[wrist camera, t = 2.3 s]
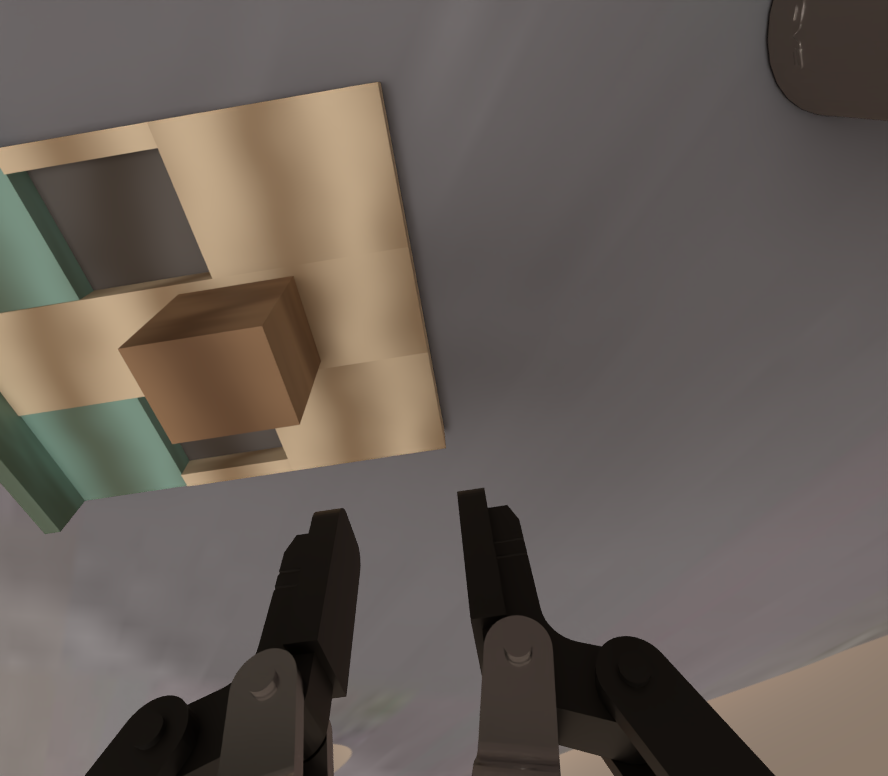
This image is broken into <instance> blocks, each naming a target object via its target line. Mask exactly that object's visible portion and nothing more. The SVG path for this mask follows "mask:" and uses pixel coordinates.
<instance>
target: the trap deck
mask: <svg viewBox="0 0 888 776" xmlns="http://www.w3.org/2000/svg"><path fill="white" fill-rule="evenodd" d="M289 276H294V279H295V283H296V286H297V289H298V292H299V295H300V298H301V301H302V304H303V307H304V310H305V313H306V316H307V320H308V323H309V326H310V329H311V332H312V335H313V338H314V341H315V344H316V347H317V350H318V353H319V356H320V360H321V363H320V366H319V369H318V372H317V375H316V378H315V381H314V384H313V387H312V390H311V393H310V396H309V399H308V402H307V405H306V408H305V411H304V414H303V417H302V420H301V423H300V425H295V426H289V427H282V428H275V429H269V430H262V431H256V432H249V433H242V434H236V435H229V436H223V437H216V438H210V439H203V440H196V441H190V442H183V443H177V444H172V443H171V441H170V439H169V438H168V436H167V434H166V432H165V431H164V429H163V427H162V425H161V424H160V422H159V420H158V418H157V417H156V415H155V413H154V412H153V410H152V408H151V406H150V405H149V403H148V401H147V399H146V398H145V396H144V394H143V392H142V391H141V389H140V387H139V385H138V384H137V382H136V380H135V378H134V377H133V375H132V373H131V371H130V370H129V368H128V366H127V365H126V363H125V361H124V359H123V358H122V356H121V354H120V352H119V351H118V348H119V347H120V346H121V345H122V344H124V343H125V342H126V341H127V340H128V339H129V338H130V337H131V336H133V335H134V334H135V333H136V332H137V331H138V330H139V329H140V328H141V327H143V326H144V325H145V324H146V323H147V322H148V321H149V320H150V319H151V318H153V317H154V316H155V315H156V314H157V313H158V312H159V311H160V310H161V309H163V308H164V307H165V306H166V305H167V304H168V303H169V302H170V301H171V300H173V299H174V298H175V297H176V296H177V295H178V294H184V293H190V292H196V291H202V290H209V289H215V288H221V287H227V286H233V285H239V284H246V283H252V282H258V281H264V280H270V279H276V278H283V277H289ZM443 448H446V444H445V433H444V425H443V420H442V415H441V409H440V404H439V398H438V393H437V387H436V382H435V376H434V371H433V366H432V360H431V355H430V349H429V344H428V338H427V333H426V328H425V322H424V317H423V311H422V306H421V300H420V295H419V289H418V284H417V279H416V273H415V268H414V262H413V257H412V251H411V246H410V240H409V235H408V230H407V224H406V219H405V213H404V208H403V202H402V197H401V191H400V186H399V181H398V175H397V170H396V164H395V159H394V153H393V148H392V143H391V137H390V132H389V126H388V121H387V115H386V110H385V104H384V99H383V94H382V88H381V83H380V82H374V83H369V84H363V85H357V86H352V87H346V88H340V89H334V90H329V91H323V92H317V93H311V94H306V95H300V96H294V97H289V98H283V99H277V100H271V101H266V102H260V103H254V104H248V105H243V106H237V107H231V108H226V109H220V110H214V111H208V112H203V113H197V114H191V115H185V116H180V117H174V118H168V119H163V120H157V121H151V122H145V123H140V124H134V125H128V126H122V127H117V128H111V129H105V130H100V131H94V132H88V133H82V134H77V135H71V136H65V137H59V138H54V139H48V140H42V141H37V142H31V143H25V144H19V145H14V146H8V147H2V148H0V483H1V484H2V485H3V486H4V487H5V489H6V490H7V491H8V492H9V493H10V494H11V496H12V497H13V498H14V499H15V500H16V501H17V502H18V504H19V505H20V506H21V507H22V508H23V509H24V511H25V512H26V513H27V514H28V515H29V516H30V517H31V519H32V520H33V521H34V522H35V523H36V524H37V526H38V527H39V528H40V529H41V530H42V531H43V532H44V534H48V533H55V532H61V530H62V529H63V528H64V527H65V525H66V524H67V523H68V522H69V520H70V519H71V518H72V516H73V515H74V514H75V513H76V511H77V510H78V509H79V508H80V506H81V505H82V504H83V502H84V501H86V500H93V499H100V498H107V497H113V496H120V495H127V494H133V493H140V492H147V491H154V490H160V489H167V488H174V487H181V486H194V485H201V484H207V483H214V482H221V481H228V480H234V479H241V478H248V477H254V476H261V475H268V474H275V473H281V472H288V471H295V470H301V469H308V468H315V467H322V466H328V465H335V464H342V463H349V462H355V461H362V460H369V459H375V458H382V457H389V456H396V455H402V454H409V453H416V452H423V451H429V450H436V449H443Z"/></svg>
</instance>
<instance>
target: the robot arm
mask: <svg viewBox="0 0 888 776" xmlns="http://www.w3.org/2000/svg"><path fill="white" fill-rule="evenodd" d="M768 47H769V57H770V64H771V67H772V70H773V73H774V76H775V79H776V82H777V84H778V85H779V87H780V88H781V90H782V91H783V93H784V94H785V95H786V97H787V98H788V99H789V100H790V101H792V102H793V103H794V104H796V105H797V106H798V107H799V108H801V109H803V110H806V111H808V112H811V113H814V114H817V115H825V116H837V117H849V118H860V119H872V120H884V121H888V0H773V4H772V8H771V12H770V20H769V32H768ZM457 496H458V505H459V515H460V524H461V533H462V543H463V552H464V561H465V571H466V580H467V590H468V599H469V608H470V618H471V624H472V629H473V634H474V639H475V644H476V649H477V654H478V659H479V664H480V669H481V674H482V687H481V704H480V721H479V739H478V751H477V757H476V759H475V761H474V764H473V770H472V776H561V774H560V760H559V745H561V746H565V747H569V748H572V749H576V750H580V751H584V752H587V753H591V754H595V755H599V756H601V757H602V758H603V760H604V761H605V763H606V764H607V766H608V767H609V769H610V770H611V772H612V773H613V775H614V776H775V775H774V774H773V773H772V772H771V771H770V770H769V769H768V767H767V766H766V765H765V764H764V763H763V762H762V761H761V760H760V759H759V758H758V757H757V756H756V755H755V754H754V752H753V751H752V750H751V749H750V748H749V747H748V746H747V745H746V744H745V743H744V742H743V740H742V739H741V738H740V737H739V736H738V735H737V734H736V733H735V732H734V731H733V730H732V729H731V728H730V726H729V725H728V724H727V723H726V722H725V721H724V720H723V719H722V718H721V717H720V716H719V715H718V713H717V712H716V711H715V710H714V709H713V708H712V707H711V706H710V705H709V704H708V703H707V702H706V701H705V699H704V698H703V697H702V696H701V695H700V694H699V693H698V692H697V691H696V690H695V689H694V688H693V686H692V685H691V684H690V683H689V682H688V681H687V680H686V679H685V678H684V677H683V676H682V675H681V674H680V672H679V671H678V670H677V669H676V668H675V667H674V666H673V665H672V664H671V663H670V662H669V661H668V659H667V658H666V657H665V656H664V655H663V654H662V653H661V652H660V651H659V650H658V649H657V648H656V647H654V646H653V645H651V644H650V643H648V642H646V641H644V640H642V639H639V638H636V637H631V636H622V637H616V638H613V639H611V640H609V641H607V642H606V643H605V644H604V645H603V646H602V647H601V646H596V645H591V644H586V643H581V642H577V641H573V640H570V639H568V638H565V637H563V636H562V635H560V634H558V633H557V632H556V631H555V630H553V628H552V627H551V626H550V625H549V624H548V623H547V621H546V620H545V618H544V616H543V614H542V611H541V608H540V604H539V600H538V596H537V592H536V588H535V583H534V579H533V575H532V571H531V567H530V563H529V559H528V555H527V550H526V546H525V542H524V539H523V534H522V530H521V525H520V521H519V519H518V518H517V516H516V515H515V514H514V513H513V512H512V510H511V509H510V508H509V507H508V505H505V506H498V507H491V508H488V507H487V501H486V496H485V490H484V488H479V489H472V490H465V491H459V492H457ZM279 572H280V574H279V575H278V577H277V581H276V585H275V590H274V592H273V596H272V599H271V603H270V606H269V610H268V614H267V617H266V621H265V625H264V628H263V632H262V636H261V639H260V643H259V646H258V649H257V652H256V654H255V655H254V656H253V657H251V658H250V659H249V660H247V661H246V662H245V663H244V664H243V665H242V667H241V668H240V669H239V670H238V672H237V673H236V675H235V677H234V679H233V681H232V683H230V684H229V685H227V686H226V687H224V688H222V689H220V690H218V691H216V692H214V693H212V694H209V695H207V696H205V697H203V698H201V699H199V700H197V701H194V702H192V703H190V704H188V705H187V704H186V703H185V702H184V701H183V700H182V699H181V698H179V697H177V696H170V695H168V696H162V697H159V698H156V699H154V700H152V701H150V702H149V703H147V704H146V705H144V706H143V707H142V708H140V709H139V710H138V711H137V712H136V713H135V714H134V715H133V716H132V717H131V718H130V719H129V720H128V721H127V723H126V724H125V725H124V726H123V728H122V729H121V730H120V731H119V733H118V734H117V735H116V737H115V738H114V739H113V740H112V742H111V743H110V744H109V745H108V747H107V748H106V749H105V751H104V752H103V753H102V754H101V756H100V757H99V758H98V759H97V761H96V762H95V763H94V765H93V766H92V767H91V768H90V770H89V771H88V772H87V773H86V775H85V776H334V768H333V737H332V726H331V722H330V720H329V716H330V709H331V701H332V698H339V697H346V695H347V686H348V677H349V667H350V658H351V649H352V640H353V631H354V622H355V613H356V604H357V594H358V585H359V576H360V552H359V547H358V544H357V541H356V538H355V535H354V533H353V530H352V527H351V524H350V522H349V519H348V516H347V513H346V511H345V509H344V508H340V509H333V510H326V511H319V512H315V513H314V515H313V517H312V521H311V526H310V530H309V534H302V535H296V537H295V538H294V540H293V541H292V542H291V544H290V545H289V547H288V548H287V550H286V551H285V552H284V556H283V559H282V563H281V567H280V570H279Z"/></svg>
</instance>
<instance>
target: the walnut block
mask: <svg viewBox="0 0 888 776" xmlns="http://www.w3.org/2000/svg"><path fill="white" fill-rule="evenodd" d="M118 351H119V352H120V354H121V356H122V358H123V359H124V361H125V363H126V365H127V366H128V368H129V370H130V371H131V373H132V375H133V377H134V378H135V380H136V382H137V384H138V385H139V387H140V389H141V391H142V392H143V394H144V396H145V398H146V399H147V401H148V403H149V405H150V406H151V408H152V410H153V412H154V413H155V415H156V417H157V418H158V420H159V422H160V424H161V425H162V427H163V429H164V431H165V432H166V434H167V436H168V438H169V439H170V441H171V443H172V444H177V443H183V442H190V441H196V440H203V439H210V438H216V437H223V436H229V435H236V434H242V433H249V432H256V431H262V430H269V429H275V428H282V427H289V426H295V425H300V423H301V420H302V417H303V414H304V411H305V408H306V405H307V402H308V399H309V396H310V393H311V390H312V387H313V384H314V381H315V378H316V375H317V372H318V369H319V366H320V363H321V360H320V356H319V353H318V350H317V347H316V344H315V341H314V338H313V335H312V332H311V329H310V326H309V323H308V320H307V316H306V313H305V310H304V307H303V304H302V301H301V298H300V295H299V292H298V289H297V286H296V283H295V279H294V276H289V277H283V278H276V279H270V280H264V281H258V282H252V283H246V284H239V285H233V286H227V287H221V288H215V289H209V290H202V291H196V292H190V293H184V294H178V295H177V296H176V297H175V298H174V299H173V300H171V301H170V302H169V303H168V304H167V305H166V306H165V307H164V308H163V309H161V310H160V311H159V312H158V313H157V314H156V315H155V316H154V317H153V318H151V319H150V320H149V321H148V322H147V323H146V324H145V325H144V326H143V327H141V328H140V329H139V330H138V331H137V332H136V333H135V334H134V335H133V336H131V337H130V338H129V339H128V340H127V341H126V342H125V343H124V344H122V345H121V346H120V347H119V348H118Z"/></svg>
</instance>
